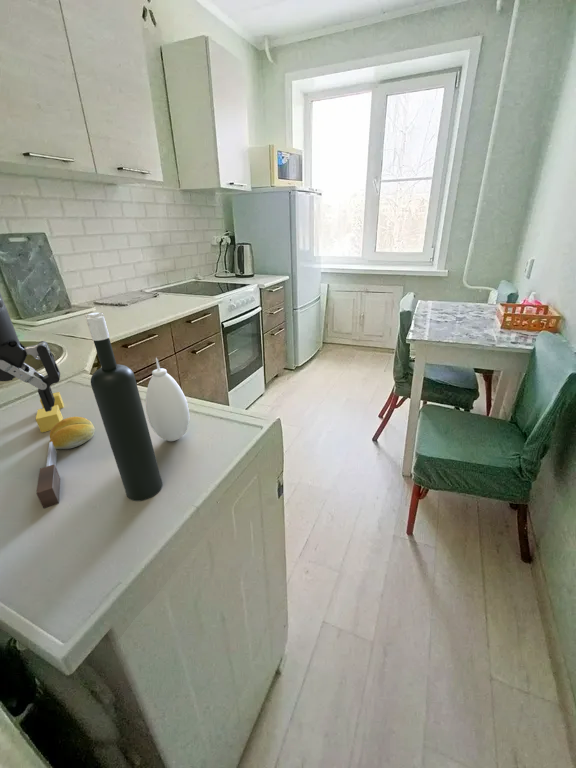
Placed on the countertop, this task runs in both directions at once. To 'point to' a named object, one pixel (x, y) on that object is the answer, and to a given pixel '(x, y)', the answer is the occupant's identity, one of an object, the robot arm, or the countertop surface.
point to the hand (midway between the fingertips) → (16, 416)
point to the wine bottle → (123, 417)
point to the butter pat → (56, 400)
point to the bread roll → (71, 432)
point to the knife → (49, 480)
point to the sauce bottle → (166, 406)
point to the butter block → (48, 418)
